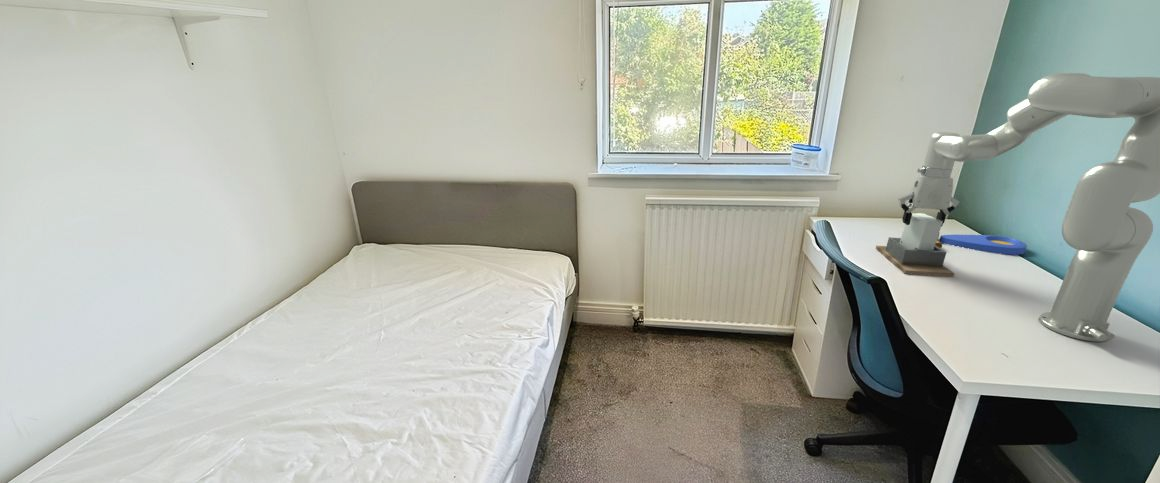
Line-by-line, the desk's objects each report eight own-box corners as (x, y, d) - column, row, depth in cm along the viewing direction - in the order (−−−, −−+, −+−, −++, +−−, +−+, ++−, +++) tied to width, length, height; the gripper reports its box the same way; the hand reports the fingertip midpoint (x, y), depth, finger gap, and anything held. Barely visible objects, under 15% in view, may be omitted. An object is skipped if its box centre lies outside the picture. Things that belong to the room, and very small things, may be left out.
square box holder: (953, 276, 146) (959, 258, 144) (904, 273, 148) (909, 255, 146) (918, 251, 166) (922, 234, 164) (875, 248, 168) (879, 232, 166)
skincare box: (895, 254, 160) (905, 213, 155) (911, 253, 161) (922, 212, 155) (914, 264, 152) (926, 220, 147) (931, 263, 153) (943, 219, 148)
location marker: (944, 249, 170) (1031, 257, 161) (946, 240, 169) (1034, 248, 160) (933, 237, 181) (1014, 245, 172) (935, 229, 180) (1017, 236, 171)
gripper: (911, 174, 144) (898, 226, 150) (974, 176, 141) (958, 229, 148) (900, 169, 151) (888, 219, 157) (959, 171, 148) (944, 222, 154)
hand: (922, 224), depth 152 cm, fingers open, 9 cm apart
